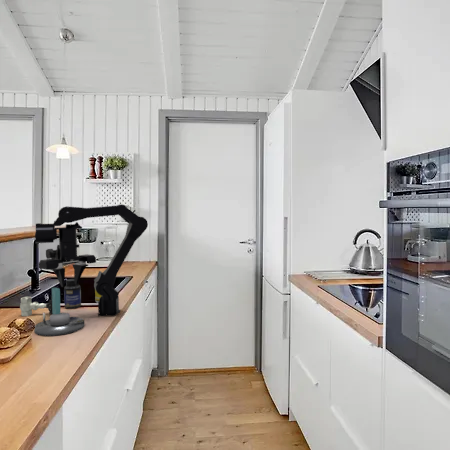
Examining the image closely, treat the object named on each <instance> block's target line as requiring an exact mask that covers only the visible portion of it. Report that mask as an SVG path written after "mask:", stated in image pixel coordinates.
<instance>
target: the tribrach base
mask: <svg viewBox="0 0 450 450" xmlns="http://www.w3.org/2000/svg"><path fill="white" fill-rule="evenodd" d="M85 322H86V321H85V319H84V318H82V317H79V316H70V322H69V323H68V324H65V325H60V326H52V325H50V318H49V319H46V312H42V321H41V322H38V323H36V324H35V325H34V327H35V329H34V328H33V329H34V334H35V335H36V336H40V337H58V336H64V335H69V334H70V335H71V334H72V333H75V332H78V331H81V330H82V329H84V328H85V327H86V325H85Z"/></svg>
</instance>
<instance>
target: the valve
mask: <svg viewBox="0 0 450 450" xmlns="http://www.w3.org/2000/svg"><path fill="white" fill-rule="evenodd" d="M32 300H33V298H32V296H23V297H21V298H20V304H19V305H20V306H19V309H20V311H21V312H20V315H21V317H29V316H32V315H33V311H37V310H38V309H45V308H46V309H47V310H48V311H49V312H48V313H49V314H50V315H53V312H52V296H50V300H48V302H46V304H45V303H43V302H42V303H39V302H38V301H33V302H32Z"/></svg>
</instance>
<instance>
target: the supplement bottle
mask: <svg viewBox="0 0 450 450" xmlns="http://www.w3.org/2000/svg"><path fill="white" fill-rule="evenodd" d="M94 293H95V294H94V295H95V297H94V298H95V299H94V300H95V303H97V304H98V302H99V298H101V297H102V296H101V295H99V294H98V293H97V291H96V290H95V289H94Z"/></svg>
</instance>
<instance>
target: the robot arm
mask: <svg viewBox="0 0 450 450" xmlns="http://www.w3.org/2000/svg"><path fill="white" fill-rule="evenodd" d="M57 215H58V217H57V218H56V219H55V220H54V221H53V223H38V222H37V223H35V233H34V238H35V239H34V240H35V241H34V242H35V244H49V243H51V244H52V243H54V241H56V240H58V241H59V242H58V243H59V244H57V246H56V249H53V248H47V249H46V250H45V257H46V259H40V260H39V262H38V269H42V270H50V271H52V272H53V273H54V274H55V276H56V278H57V280H58V283H59V285H60V287H61V288H65V284H66V268H65V267H63V266H64V265H70V264H71V265H72V267H73V272H74V273H73V279H74V282H75V284H76V285H77V284H78V285H79V283H78V282H80V280H81V277H82V275H83V274H84V271H85V269H86V267H89V264H95V263H97V257H96V256H95V255H94V254H80V255H79V254H78V248H80V244H78V243H77V242H78V239H77V236H78V235H77V232H78V231H77V230H82V228H83V227H82V226H81V225H80V224H79V222H78V221H80V220H85V219H88V218H98V217H99V218H100V217H110V216H120V217H121V219H123V220H124V221H125V223H127V224H128V225H127V229H126V231H125V235H124V238H123V239H122V241H121V243H120V244H119V247H118V248H117V250H116V252H115V253H114V255H113V257H112V258H111V261H110V262H109V263H108V266H107V267H106V268H105V270H104V271H101V270H99V271H98V273H97V276H96V277H95V278H93V281H94V283H93V287H94V291H95V290H96V291H97V293H98V294H99V295H101V296H102V297H101V298H99V302H98V303H97V312H98V314H97V316H98V317H108V316H109V317H115V316H117V315H118V314H119V313H120V312H121V309H120V302H119V301H120V299H119V296H120V295H119V294H120V293H119V292H118V291H117V289H116V288H115V287H114V285H115V282H116V279H117V275H118V272H119V271H120V269H121V267H122V265H124V264H123V263H124V262H125V260H126V258H127V256H128V254H129V253H130V251H131V249H132V248H133V246H134V244H135V242H136V241H137V240H138V239H139V238H140V237H141V236H142V235H143V233H144V232H145V231H146V230H147V228H148V225H149V224H148V220H147V219H146V218H145V217H143V216H139V215H138V214H136V213H135V212H133V211H132V210H131V209H129V208H128V207H127V206H126V205H124V204H117V205H105V206H94V207H93V206H92V207H80V206H79V207H77V206H63V207H61V208H60V209H59V211H58V214H57ZM74 222H75V223H74ZM65 223H66V224H65ZM69 223H70V224H69ZM71 223H73V224H71ZM63 224H65V227H61V226H63Z"/></svg>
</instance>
